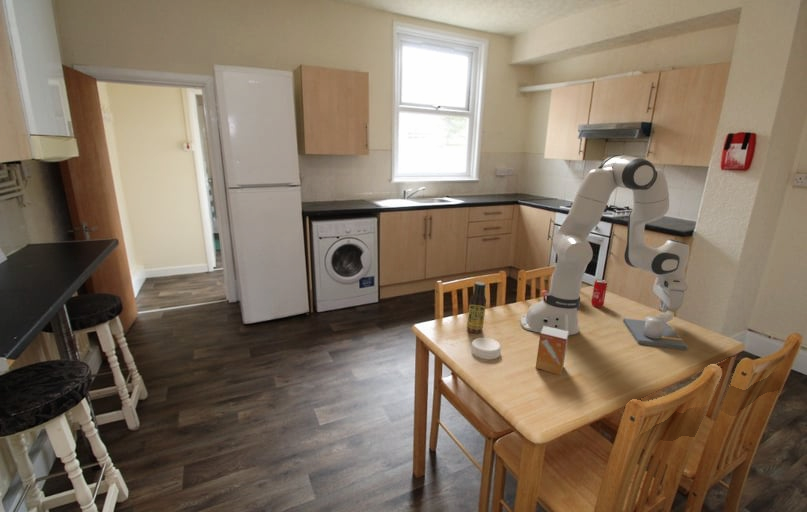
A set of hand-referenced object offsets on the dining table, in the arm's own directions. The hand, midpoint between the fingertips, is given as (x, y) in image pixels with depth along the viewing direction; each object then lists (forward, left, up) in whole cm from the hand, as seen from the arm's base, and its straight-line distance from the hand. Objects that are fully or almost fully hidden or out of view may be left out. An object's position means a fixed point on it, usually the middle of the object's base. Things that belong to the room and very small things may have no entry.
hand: (663, 310), depth 159 cm
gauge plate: (-6, -11, -6) cm, 14 cm away
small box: (-48, -48, -7) cm, 68 cm away
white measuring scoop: (-5, -12, -4) cm, 13 cm away
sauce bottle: (-74, -28, -7) cm, 80 cm away
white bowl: (-69, -44, -7) cm, 82 cm away
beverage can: (-21, +15, -7) cm, 27 cm away
